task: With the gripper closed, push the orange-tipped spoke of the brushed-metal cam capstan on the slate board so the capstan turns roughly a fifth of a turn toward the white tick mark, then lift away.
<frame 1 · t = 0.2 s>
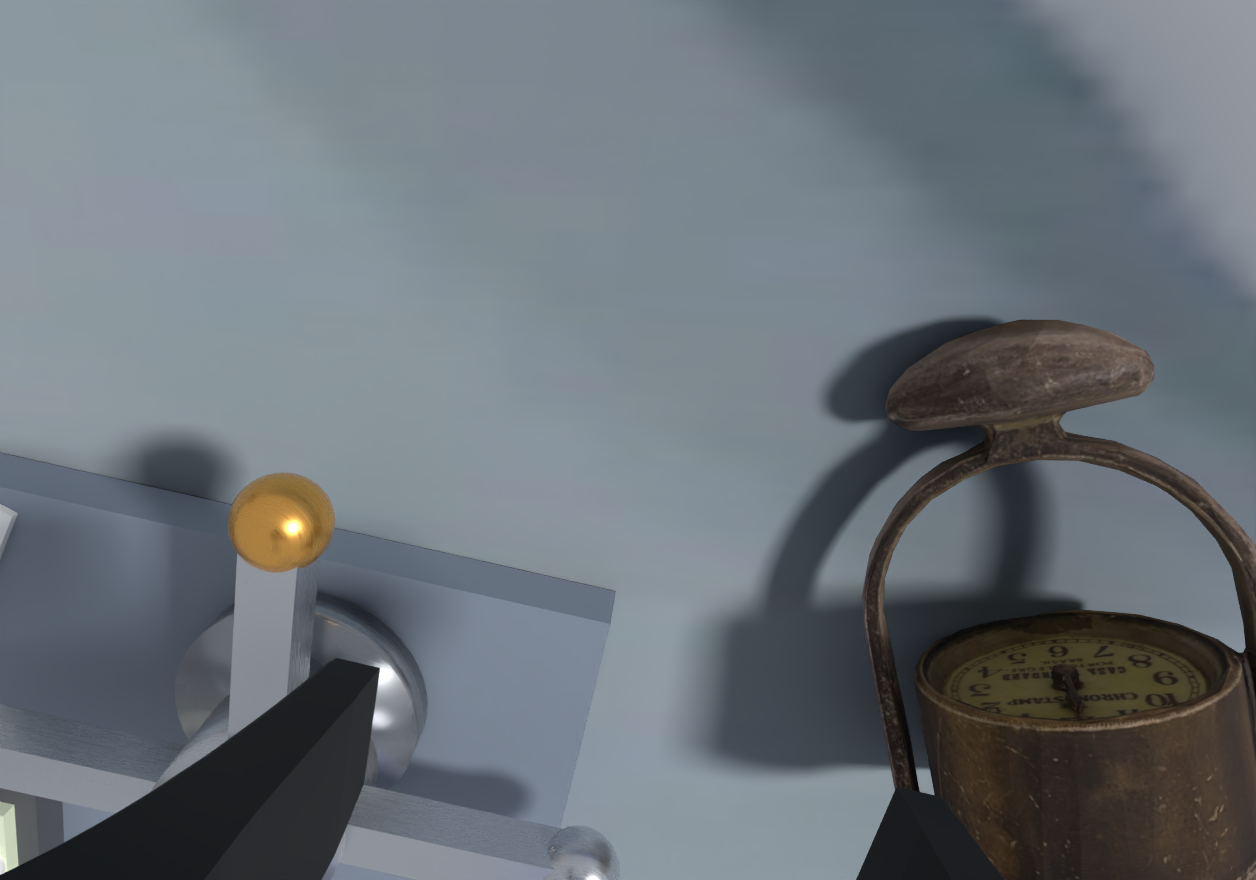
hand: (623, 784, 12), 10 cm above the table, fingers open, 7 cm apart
capstan: (277, 778, 21), point 4 cm above the table, hinge at 0.0°
mechanical counter: (1032, 560, 22), on the table
stand: (258, 741, 25), on the table
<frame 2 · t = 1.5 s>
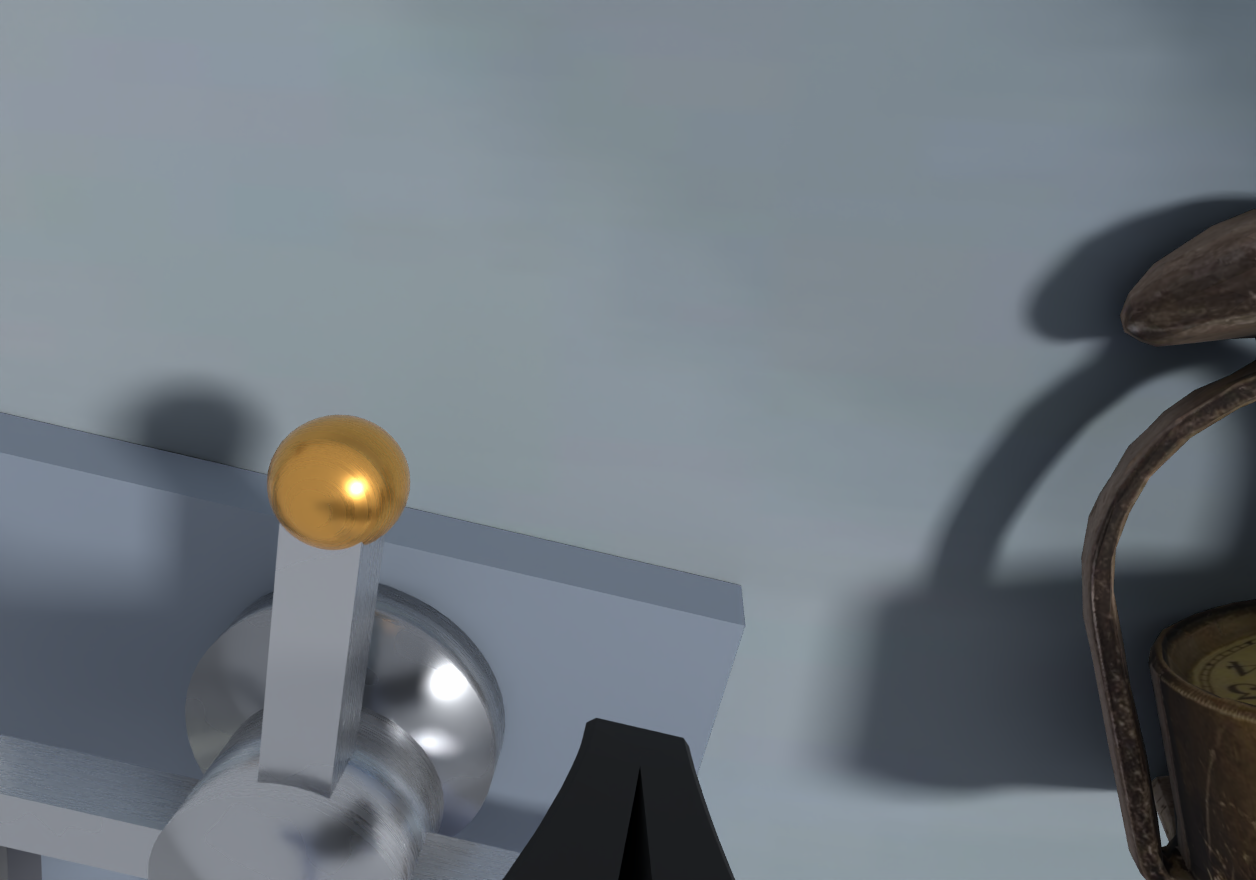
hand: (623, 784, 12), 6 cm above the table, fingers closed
capstan: (316, 822, 16), point 4 cm above the table, hinge at 0.0°
stand: (284, 768, 20), on the table
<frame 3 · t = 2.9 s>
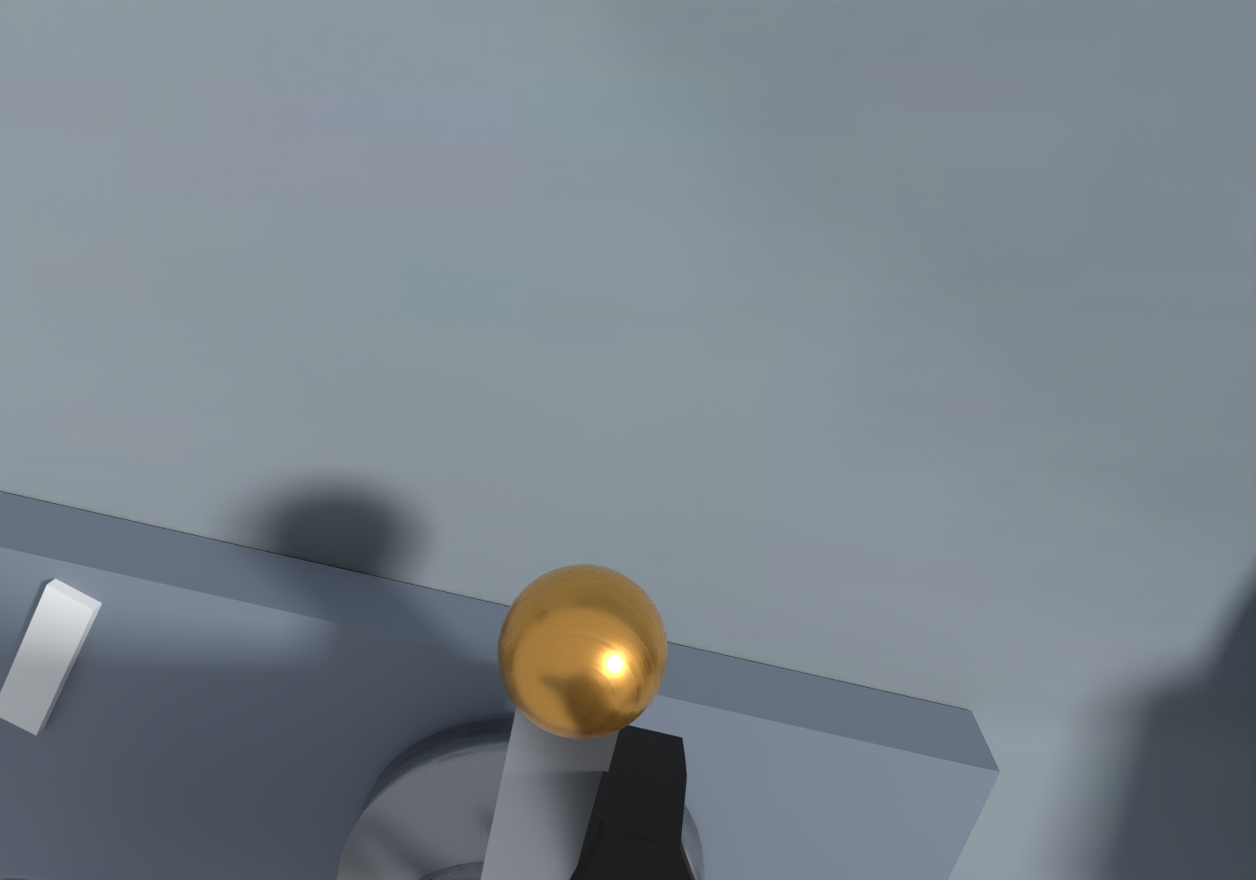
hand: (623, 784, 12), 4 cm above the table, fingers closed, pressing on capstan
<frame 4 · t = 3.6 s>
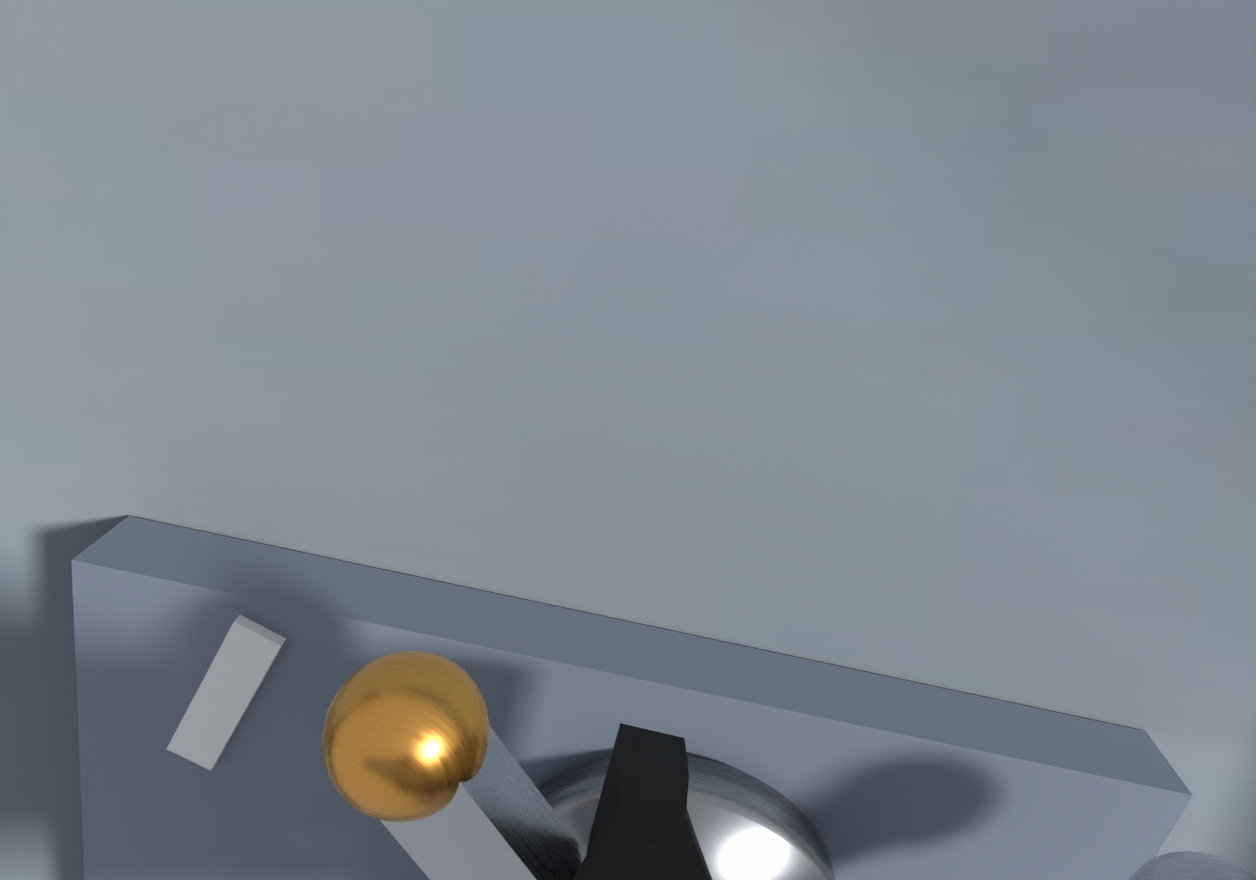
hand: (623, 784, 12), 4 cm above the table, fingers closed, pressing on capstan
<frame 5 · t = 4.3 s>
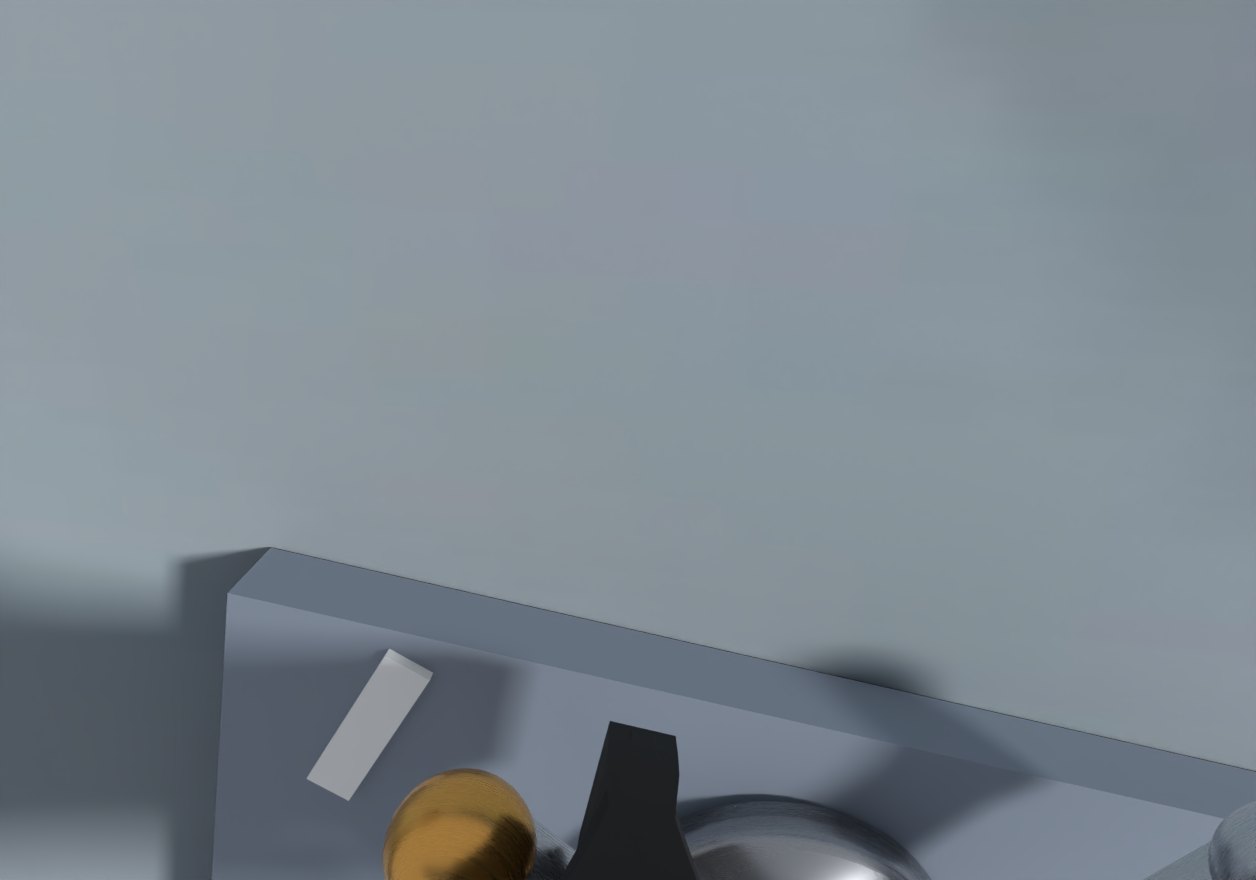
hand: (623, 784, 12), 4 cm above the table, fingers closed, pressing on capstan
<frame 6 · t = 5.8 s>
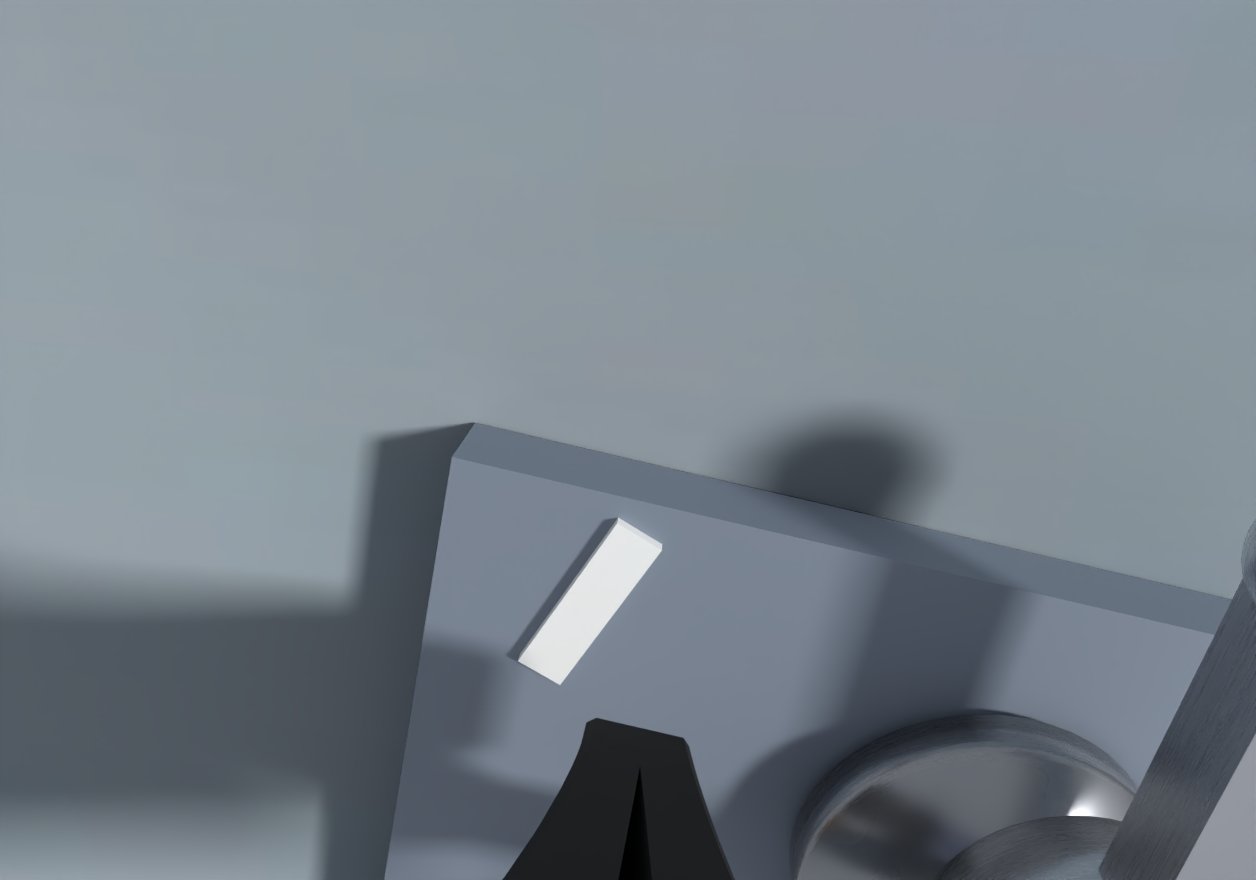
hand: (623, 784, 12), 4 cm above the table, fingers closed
stand: (858, 869, 17), on the table
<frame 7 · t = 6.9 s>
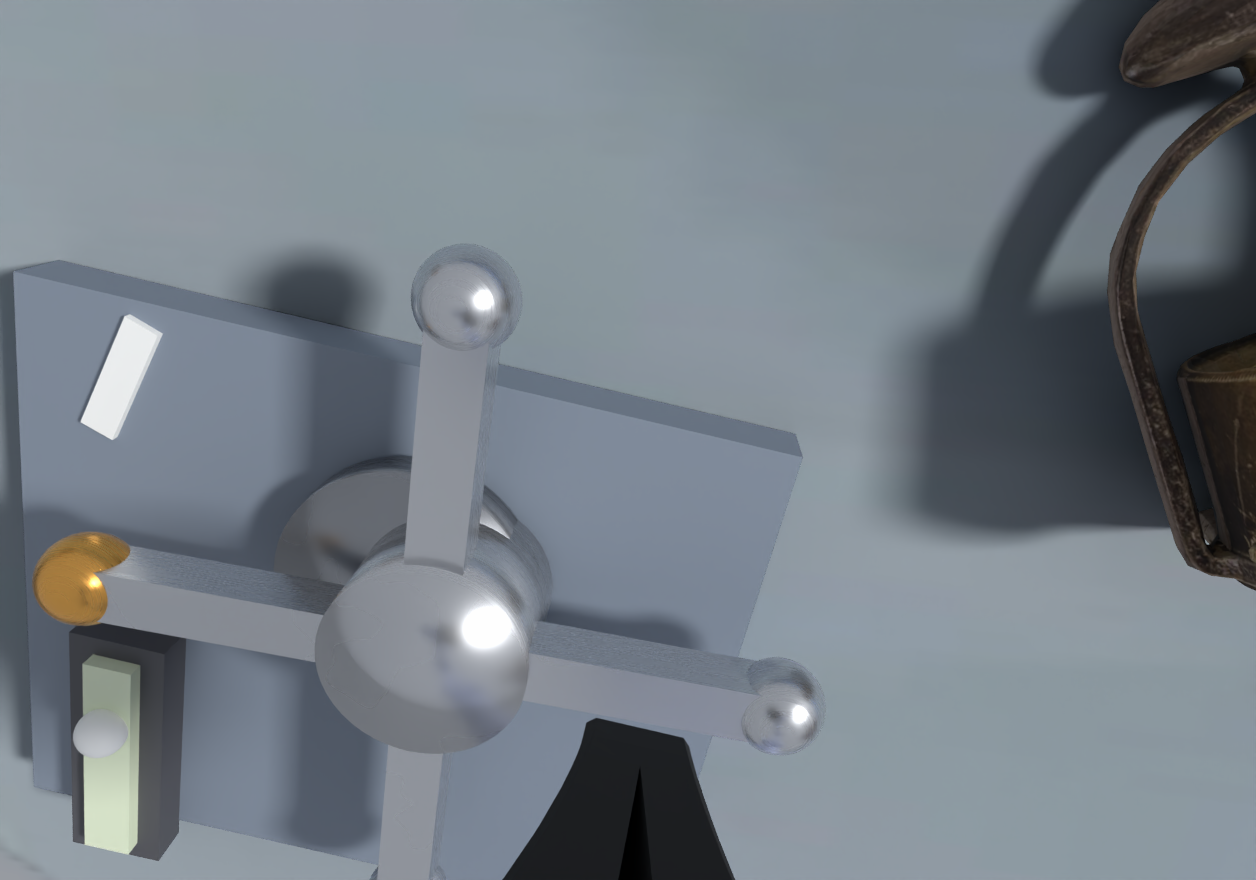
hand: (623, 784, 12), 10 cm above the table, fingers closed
capstan: (442, 621, 19), point 4 cm above the table, hinge at 93.1°
stand: (392, 609, 23), on the table
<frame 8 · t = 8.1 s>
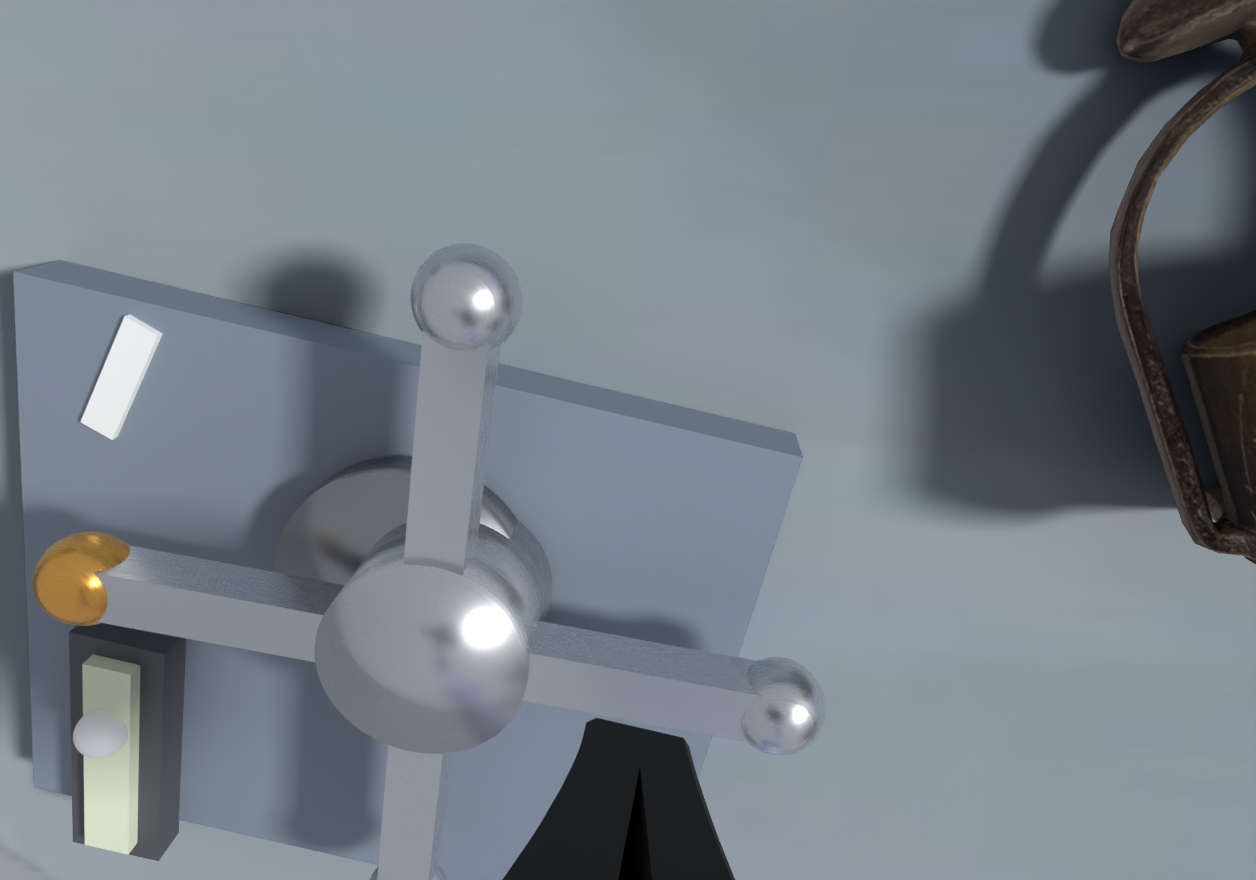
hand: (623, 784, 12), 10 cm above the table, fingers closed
capstan: (442, 621, 19), point 4 cm above the table, hinge at 93.1°
stand: (392, 609, 23), on the table
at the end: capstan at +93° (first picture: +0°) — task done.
